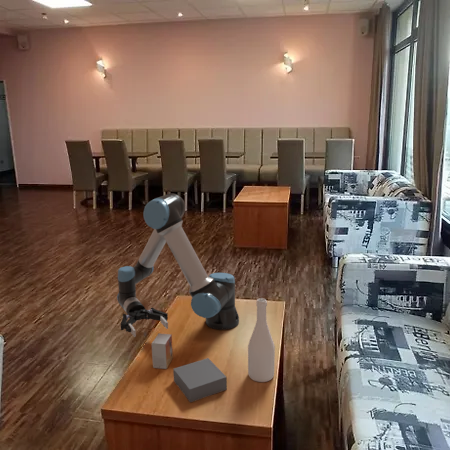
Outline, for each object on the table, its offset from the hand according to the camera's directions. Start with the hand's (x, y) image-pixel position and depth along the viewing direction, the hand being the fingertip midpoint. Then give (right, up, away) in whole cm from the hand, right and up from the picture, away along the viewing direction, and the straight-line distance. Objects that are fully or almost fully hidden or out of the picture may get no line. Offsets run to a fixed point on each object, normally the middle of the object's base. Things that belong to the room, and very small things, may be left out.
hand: (151, 329), depth 180 cm
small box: (+6, -12, -6) cm, 14 cm away
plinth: (+21, -15, -20) cm, 33 cm away
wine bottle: (+43, -13, -15) cm, 47 cm away
